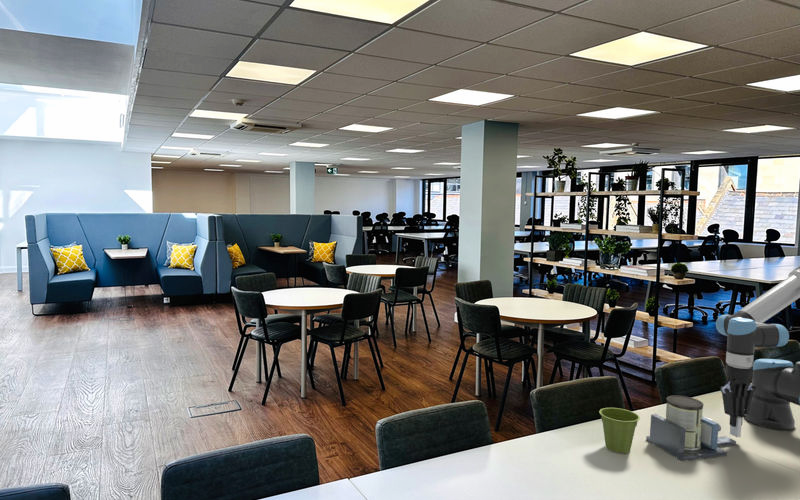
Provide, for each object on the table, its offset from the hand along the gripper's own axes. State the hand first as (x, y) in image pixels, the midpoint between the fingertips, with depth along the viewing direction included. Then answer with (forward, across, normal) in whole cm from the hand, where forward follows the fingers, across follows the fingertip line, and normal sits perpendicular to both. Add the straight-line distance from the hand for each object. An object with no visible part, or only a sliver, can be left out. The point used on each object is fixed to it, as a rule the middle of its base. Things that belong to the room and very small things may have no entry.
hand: (735, 435), depth 168 cm
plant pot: (+2, -43, +4) cm, 43 cm away
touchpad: (+3, 0, +17) cm, 17 cm away
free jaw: (+1, -12, 0) cm, 12 cm away
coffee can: (+1, -21, 0) cm, 21 cm away
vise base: (+2, -15, 0) cm, 15 cm away
